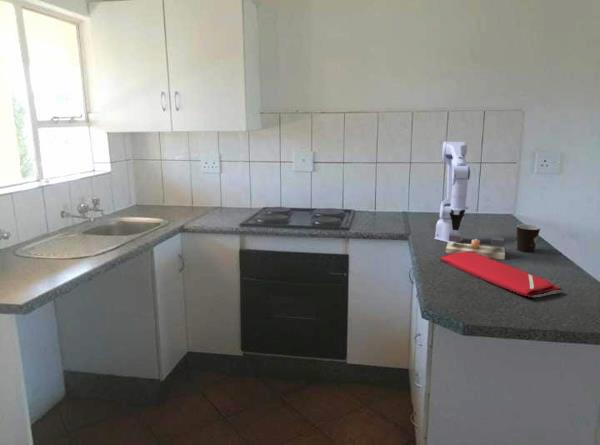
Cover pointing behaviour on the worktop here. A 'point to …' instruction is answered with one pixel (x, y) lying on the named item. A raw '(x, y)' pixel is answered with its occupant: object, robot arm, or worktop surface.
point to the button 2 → (497, 241)
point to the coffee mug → (527, 237)
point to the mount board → (476, 250)
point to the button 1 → (455, 237)
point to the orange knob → (475, 244)
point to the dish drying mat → (499, 273)
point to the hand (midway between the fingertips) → (456, 228)
